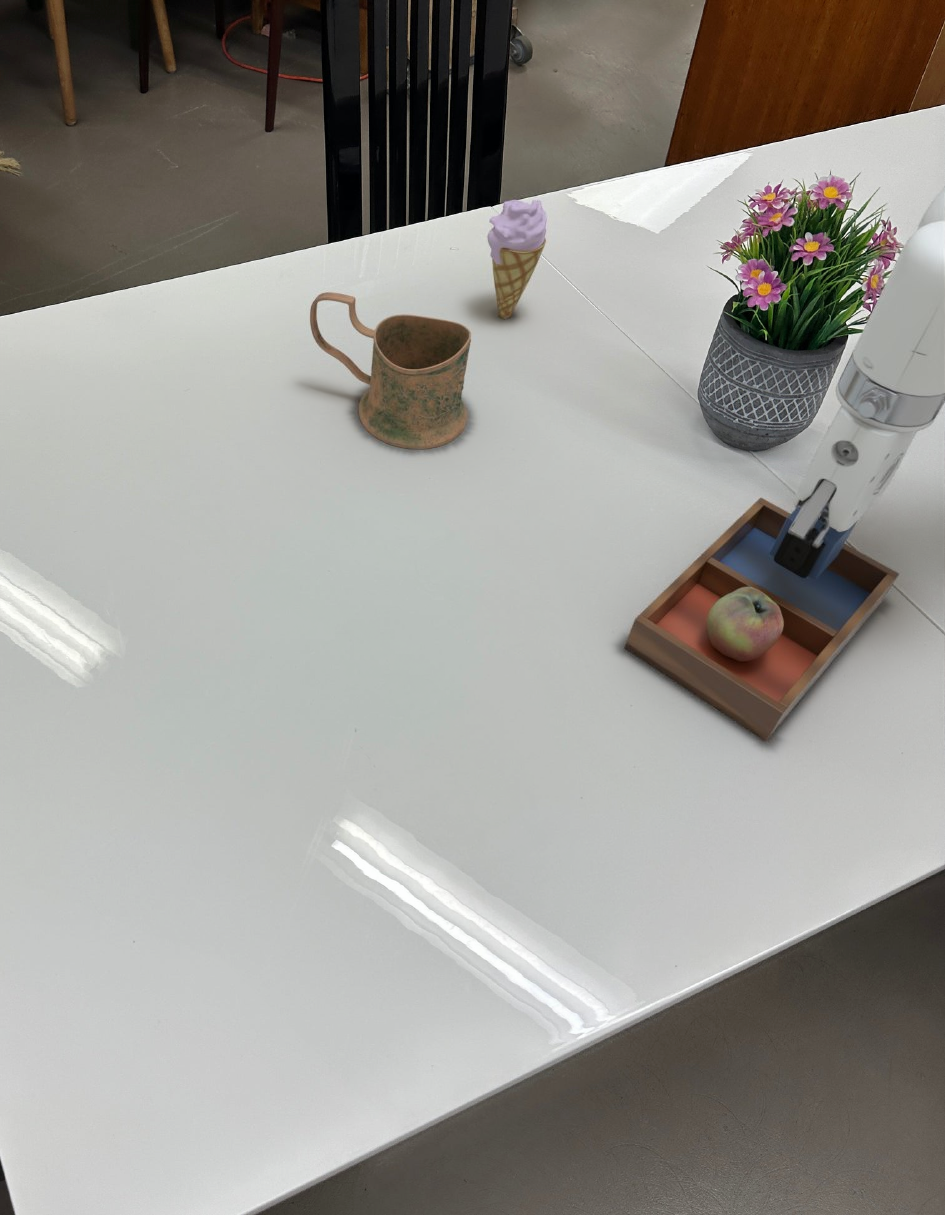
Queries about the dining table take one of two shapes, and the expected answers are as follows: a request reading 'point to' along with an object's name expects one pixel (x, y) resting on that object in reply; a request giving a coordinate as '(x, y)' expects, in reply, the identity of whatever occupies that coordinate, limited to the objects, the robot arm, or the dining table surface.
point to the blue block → (832, 542)
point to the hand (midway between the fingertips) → (805, 552)
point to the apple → (744, 624)
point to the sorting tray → (809, 609)
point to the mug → (408, 376)
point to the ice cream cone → (515, 250)
